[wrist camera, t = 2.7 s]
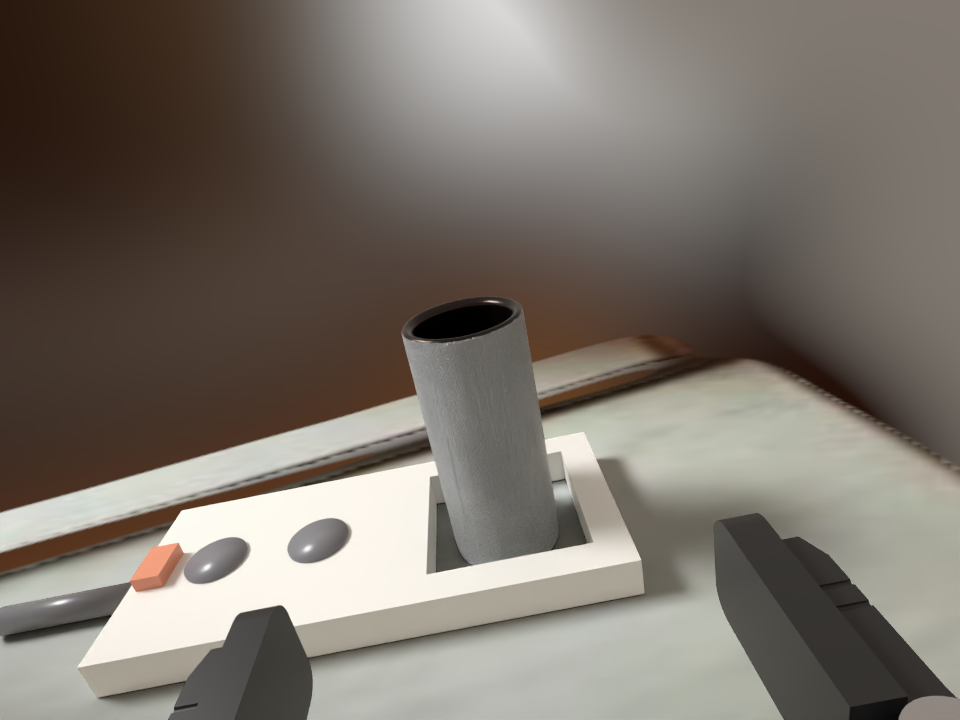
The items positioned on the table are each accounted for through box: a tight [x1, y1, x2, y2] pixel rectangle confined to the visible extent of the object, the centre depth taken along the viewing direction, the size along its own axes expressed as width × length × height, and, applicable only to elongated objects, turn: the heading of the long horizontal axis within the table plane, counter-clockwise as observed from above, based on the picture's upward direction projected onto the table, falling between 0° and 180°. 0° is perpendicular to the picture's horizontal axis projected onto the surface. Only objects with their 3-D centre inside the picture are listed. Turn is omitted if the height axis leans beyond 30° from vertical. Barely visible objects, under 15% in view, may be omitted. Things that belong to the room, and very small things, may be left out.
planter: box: [402, 296, 559, 566], centre depth 23 cm, size 4×4×10 cm
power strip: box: [0, 432, 645, 698], centre depth 25 cm, size 28×9×2 cm, turn 93°
